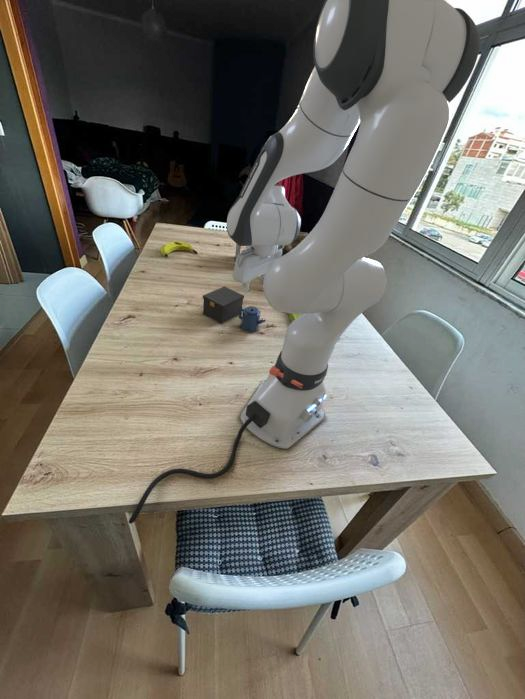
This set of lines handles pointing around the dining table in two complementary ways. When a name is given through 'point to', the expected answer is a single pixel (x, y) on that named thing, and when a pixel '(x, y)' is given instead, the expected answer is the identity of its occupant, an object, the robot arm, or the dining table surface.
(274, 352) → the dining table surface
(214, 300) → the black box
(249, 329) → the teapot
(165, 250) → the banana
